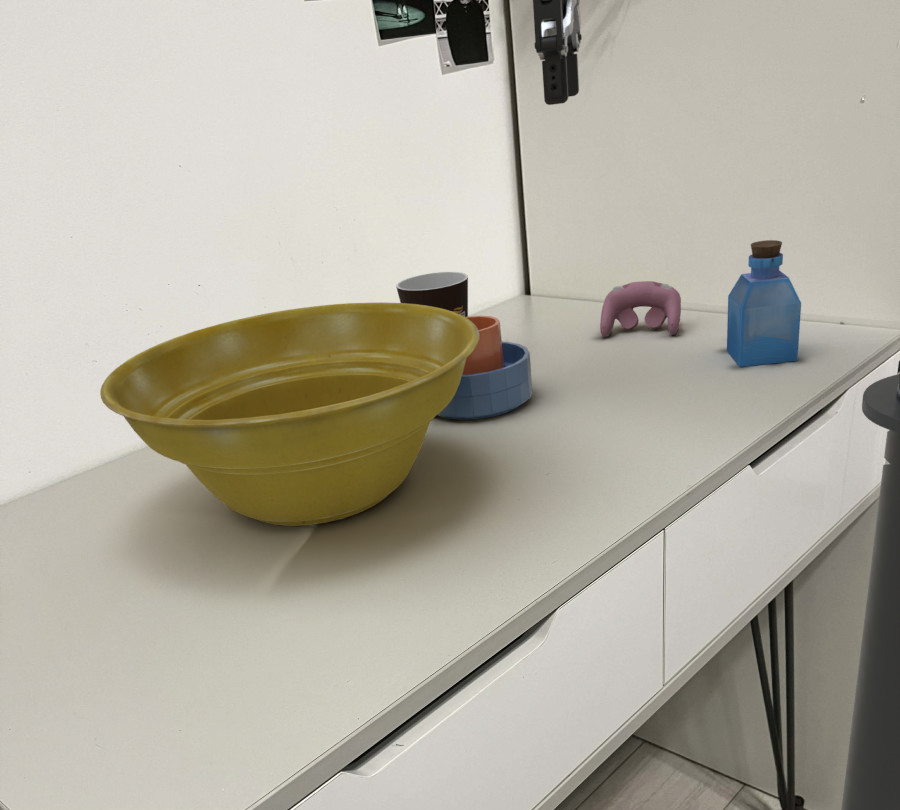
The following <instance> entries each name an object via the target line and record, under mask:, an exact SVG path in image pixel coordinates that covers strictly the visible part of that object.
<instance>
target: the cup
mask: <svg viewBox="0 0 900 810" xmlns="http://www.w3.org/2000/svg"><path fill="white" fill-rule="evenodd" d="M466 318H467V319H469V320H470V321H472V322H473V323H474V324H475V326H476V327H477V328H478V331H479V334H480V335H479V341H478V344H477V346H476V348H475V349H474V350H473V352H472V353H471V354H470V355H469V356H468V357H467V358H466V362H465V366H464V370H463V374H462V375H469V374H477V373H484V372H489V371H493V370H497V369H501V368H504V361H503V350H502V341H503V340H502V331H501V330H502V329H501V321H500V319H499V318H498V317H495V316H492V315H470V316H469V315H468V317H466Z"/></svg>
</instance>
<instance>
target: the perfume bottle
mask: <svg viewBox="0 0 900 810" xmlns="http://www.w3.org/2000/svg"><path fill="white" fill-rule="evenodd" d="M782 245H783V242H782V241H781V240H777V239H775V240H774V239H768V240H767V239H766V240H758V241H754V242H751V243H750V249H751V254H749V256H748V268H750V272H747V273H741V274H740V276H739V277H738V279H737V281H736V282H735V284H734V286H733V287H732V289H731V290H730V292H729V294H728V296H727V323H726V325H727V329H726V352H727V353H728V354H729V356H730V357H731V358H732V359H733V361H734V362H735V364H736V365H737V366H738V367H739V368H743V367H751V366H761V365H768V364H769V365H770V364H779V363H790V362H797V361H798V358H799V345H800V331H801V329H800V328H801V316H802V315H801V314H802V313H801V312H802V301H801V300H800V297H799V295H798V293H797V291H796V288H795V287H794V285H793V283H792V281H791V279H790V276H787V275H786V274H785V273H784V272H782V271H781V269H780V267H781V266H782V265H783V261H784V253H782V252H781V249H782Z"/></svg>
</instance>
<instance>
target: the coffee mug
mask: <svg viewBox="0 0 900 810" xmlns="http://www.w3.org/2000/svg"><path fill="white" fill-rule="evenodd" d="M395 287H396V291H397V294H398V299H399V303H407V304H418V305H425V306H432V307H437V308H441V309H445V310H449V311H452V312H455V313H457V314H460V315H462V316H464V317H468V316H469V276H468V274H467V273H465V272H459V271H439V272H431V273H430V272H429V273H423V274H419V275H414V276H411V277H408V278H405V279H402V280H400V281H399V282H397V283H396V286H395Z"/></svg>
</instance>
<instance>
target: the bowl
mask: <svg viewBox="0 0 900 810" xmlns="http://www.w3.org/2000/svg"><path fill="white" fill-rule="evenodd" d="M502 350H503V361H504V368H501V369H497V370H493V371H489V372H484V373H477V374H469V375H462V377H461V380H460V383H459V386H458V388H457V391H456V393H455V395H454V397H453V398H452V400H451V401H450V403H449V404H448V405H447V406H446V407H445V408H444V409H443V410H442V411H441V412H440V413H439V414H438V415H437V416H438V417H441V418H444V419H449V420H458V421H459V420H463V421H464V420H465V421H466V420H467V421H468V420H481V419H487V418H493V417H497V416H499V415H503V414H508V413H509V412H511V411H513V410H516V409H518V408H519V407H520V406H522V405H523V404H525V403H526V402H527V401H528V400H530V399H531V397H532V395H533V393H534V388H533V376H532V366H531V353H530V351H529V349H528V347H526V346H524V345H523V344H521V343H517V342H512V341H505V340H504V341H503V340H502Z"/></svg>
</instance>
